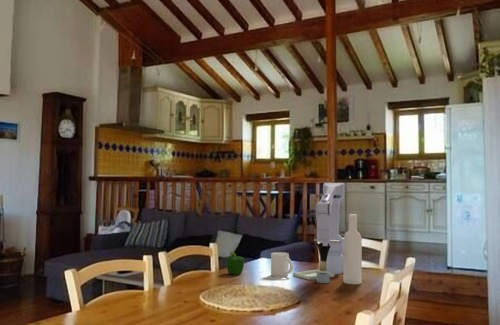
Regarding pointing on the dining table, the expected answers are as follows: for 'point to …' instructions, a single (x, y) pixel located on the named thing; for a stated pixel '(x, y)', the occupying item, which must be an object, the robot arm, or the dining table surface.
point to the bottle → (352, 253)
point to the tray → (311, 274)
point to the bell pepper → (235, 264)
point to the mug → (280, 264)
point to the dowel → (323, 265)
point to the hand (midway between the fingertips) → (323, 260)
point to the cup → (323, 277)
